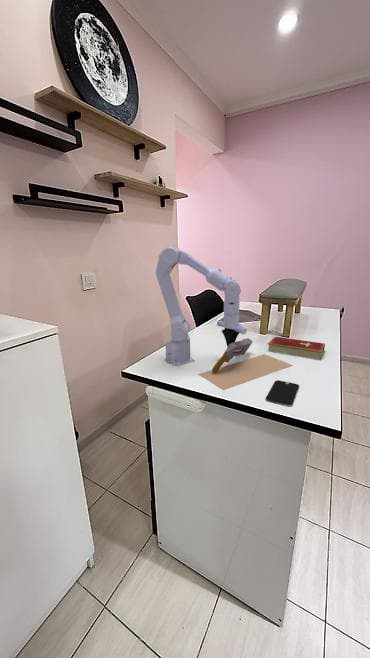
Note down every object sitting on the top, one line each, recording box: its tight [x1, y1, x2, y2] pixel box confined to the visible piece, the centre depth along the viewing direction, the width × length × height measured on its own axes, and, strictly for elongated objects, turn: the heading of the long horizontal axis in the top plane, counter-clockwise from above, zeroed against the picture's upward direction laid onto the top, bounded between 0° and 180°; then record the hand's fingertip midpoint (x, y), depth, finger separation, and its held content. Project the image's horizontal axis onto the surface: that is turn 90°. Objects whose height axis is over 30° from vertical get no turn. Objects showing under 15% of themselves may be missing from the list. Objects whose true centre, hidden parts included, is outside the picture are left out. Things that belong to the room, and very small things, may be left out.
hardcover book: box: [267, 335, 326, 361], centre depth 119 cm, size 12×21×4 cm, turn 58°
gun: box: [211, 337, 253, 372], centre depth 108 cm, size 3×25×15 cm
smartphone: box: [265, 379, 300, 408], centre depth 85 cm, size 8×1×15 cm
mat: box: [197, 353, 294, 391], centre depth 102 cm, size 34×14×1 cm, turn 122°
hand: (230, 347), depth 108 cm, fingers closed
